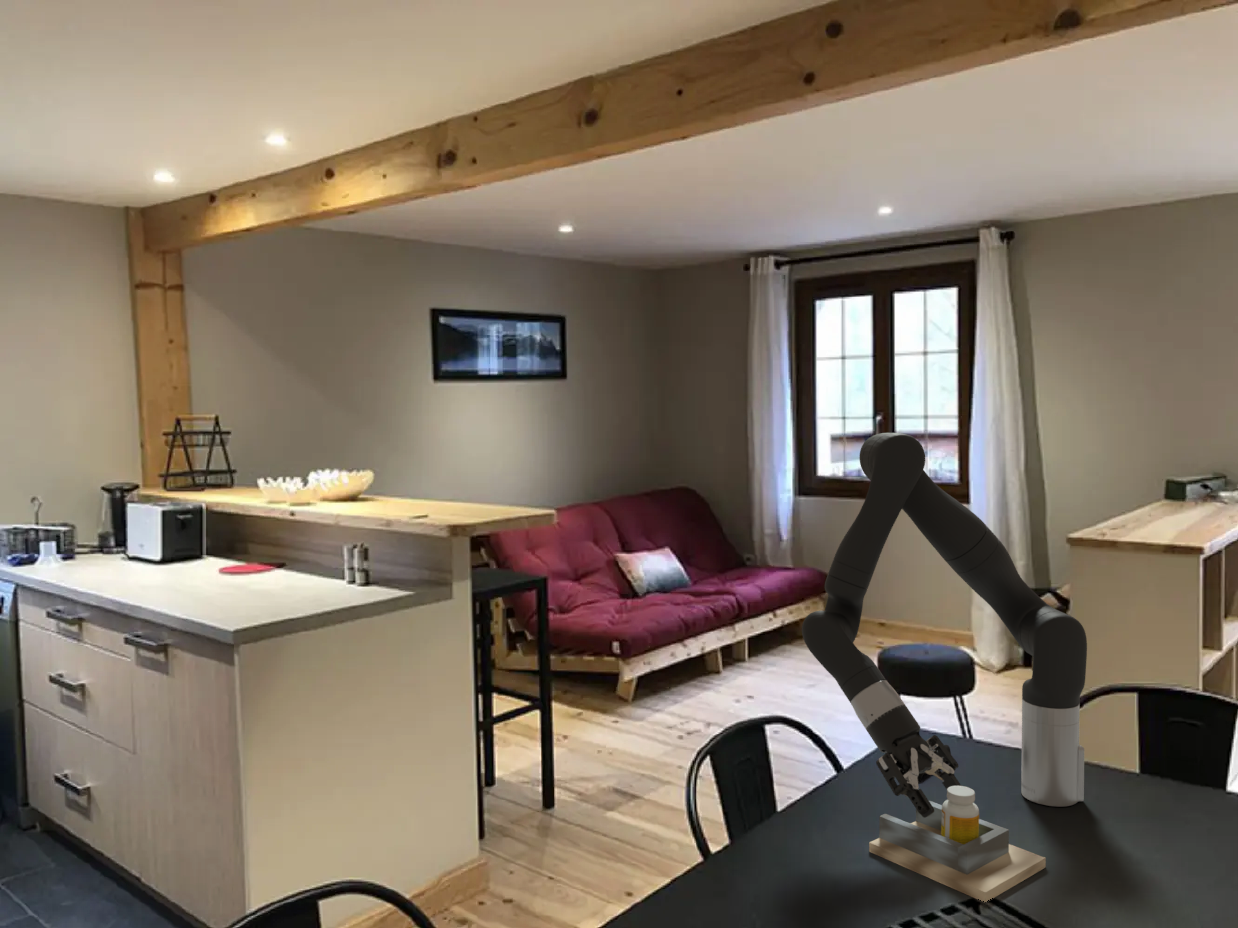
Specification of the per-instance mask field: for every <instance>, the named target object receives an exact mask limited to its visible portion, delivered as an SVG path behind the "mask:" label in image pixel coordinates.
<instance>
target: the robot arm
mask: <svg viewBox="0 0 1238 928" xmlns="http://www.w3.org/2000/svg"><path fill="white" fill-rule="evenodd" d="M859 464H860V467H861V470H862V472H863V474H864V476H866V477H867V479H868V480H869V481H870V482H869V486H868V487H869V488H868V490H867V493H866V496H865V500H864V501H863V504H862V506H861V508H860V510H859V512H858V514H857V516H856V517H855V519H854V520H853V522H852V524H851V526H850V527H849V528H848V530H847V531H846V532H845V535H844V536H843V538H842V540H841V542H840V544H839V545H838V548H837V550H836V552H835V553H834V554H835V555H834V557H833V560H832V563H831V565H830V567H829V569H828V574H827V576H826V579H825V582H824V591H825V592H826V593H827V595H828V596H827V599H826V605H825V609H824V610H815V611H812V612H811V613H809V614H808V615H807V616H806V617H805V619H804V620H803V622H802V626H801V634H802V639H803V641H804V644H805V645H806V647H807V649H808V651H809V652H810V653H811V655H813V657H814V659H816V661H817V662H819V664H820V665H821V666H822V667H823V668H824V670H825V671H826V672H827V673H829V674H830V675H831V676H832V677H833V679H834V680H835V681H836V683H837V684H838V686H839V688H840V689H841V691H842V693H843V694H844V696H845V697H846V699H847V700H848V701H849V703H850V705H851V707H852V708H853V710H854V712H855V714H856V716H857V718H858V720H859V721H860V723H861V724H862V726H863V727H864V729H865V730H866V731H867V733H868V735H869V736H870V738H871V739H872V742H873V743H874V744H875V745H876V747H877V749H878V750H879V752H880V753H883V755H882V756H880V757H879V758H877V760H876V763H875V764H876V766H877V768H878V769H879V771H880V774H882V775H883V778H884V779H885V781H886V783H887V784H888V786H889V788H890V789H891V792H892V793H893V794H894V795H895V797H898V796H900V795H904V796H905V797H906V798H908V800H910V802H911V803H912V805H913V806H914V809H915V810H916V809H917V811H918V812H919V813H920V814H921V815H922V817H924V818H926V817H928V816H929V815H931V814H932V813H933V812H934V808H933V806H932V805H931V803H930V802H929V801H930V800H929V799H928V798H927V796H926V795H925V793H924V792H923V790H922V789H921V788H920V789H919V782H918V779H917V777H918V775H919V774H922V773H924V772H926V774H927V775H930V776H931V775H933V776H934V777H935V778H937V779H939V780H941V781H942V782H941V784H942V785H943V786H944V788H945V789H946V790H947V788H948V787H951V786H962V784H961V783H960V782H959V780H958V779H957V777H956V775H955V771H956V769H957V768H958V767H959V763H958V762H957V761H956V759H955V758H954V756H953V755H952V753H951V754H950V752H949V751H948V750H947V748H946V747H945V746H944V745H945V744H944V743H943V742H942V740H941V739H940V738H939V737H938V735H936V734H933V735H932V736H931V737H929V738H928V739H926V740H925V739H924V738H923V737H922V736H921V734H920V732H921V725H920V724H919V722H918V721H917V720H916V718H915V717H914V716H913V714H912V713H911V711H910V710H909V708H908V707H907V705H906V703H904V701H903V699H902V698H901V696H900V694H899V693H897V691H896V690H895V689H894V687H893V686H892V685H891V684H890V683H889V682H888V680H887V679H886V678H885V676H884V675H883V673H882V672H881V670H880V669H879V668H878V666H877V665H876V663H875V662H874V660H872V658H871V657H869V655H867V654H865V653H863V651H861V650H860V649H859V648H858V647H857V646H856V645H855V644H854V642H855V640H856V638H857V636H858V632H859V629H860V624H861V619H862V613H863V605H864V599H865V596H866V594H867V591H868V588H869V586H870V583H871V580H872V578H873V576H874V573H875V570H876V567H877V565H878V562H879V559H880V557H881V554H882V552H883V550H884V546H885V544H886V543H887V541H888V538H889V535H890V533H891V532H892V529H893V527H894V525H895V522H896V521H897V519H898V517H899V515H900V513H901V511H902V510H903V512H904V513H905V514H906V515H907V517H909V518H910V520H911V521H912V523H914V525H915V526H916V528H918V530H919V531H920V533H921V534H922V535H923V537H925V539H926V540H927V541H928V543H929V544H930V545H931V546H932V547H933V548H934V549H935V551H936V552H937V553H938V554H939V555H940V557H942V558H941V559H943V560H944V562H946V563H947V565H948V566H949V567H950V568H951V569H952V570H953V571H954V572H955V573H956V574H957V575H958V577H960V578H961V580H963V581H964V582H965V584H967V585H968V586H969V587H970V588H971V589H972V590H973V591H974V592H975V593H976V594H977V595H978V596H979V597H980V598H981V599H983V601H985V602H986V603H987V604H988V605H989V606H990V607H991V608H992V610H993V611H994V612H995V613H996V614H997V616H998V617H999V619H1000V620H1001V621H1002V622H1003V624H1004V625H1005V627H1006V628H1007V630H1008V631H1009V632H1010V634H1011V635H1012V636H1013V638H1014V639H1015V641H1016V642H1017V644H1018V645H1019V647H1021V648H1022V649H1023V650H1024V651H1025V652H1026V653H1027V654H1029V655H1030V656H1032V657H1033V658H1032V659H1033V660H1032V674H1031V678H1029V679H1025V681H1024V682H1023V683H1022V688H1021V689H1022V690H1021V763H1020V765H1021V770H1020V774H1021V778H1020V780H1021V781H1020V785H1021V790H1020V791H1021V793H1020V794H1021V795H1022V796H1023V798H1025V799H1027V800H1029V801H1030V802H1033V803H1036V804H1039V805H1043V806H1049V807H1070V806H1073V805H1076V804H1077V803H1078V802H1084V800H1085V799H1084V798H1085V797H1084V794H1085V789H1084V788H1085V748H1084V747H1083V745H1081V744H1080V707H1081V706H1080V705H1081V704H1080V701H1081V700H1080V699H1081V694H1082V692H1083V690H1084V688H1085V685H1086V684H1085V683H1086V677H1087V675H1086V674H1087V673H1086V672H1087V659H1088V658H1087V657H1088V642H1087V635H1086V634H1087V633H1086V630H1085V628H1084V627H1083V625H1082V623H1081V622H1080V621H1079V620H1078V619H1076V618H1075V617H1073V616H1071V615H1069V614H1067V613H1065V612H1063V611H1060V610H1058V609H1056V608H1054V607H1052V606H1051V605H1050V604H1049V603H1047V602H1045V600H1044V599H1043V598H1041V597H1040V596H1039V595H1038V594H1037V593H1036V592H1035V591H1034V590H1033V589H1031V587H1030V586H1029V585H1028V584H1027V583H1026V582H1025V581H1024V579H1022V577H1021V575H1020V574H1019V572H1018V570H1017V568H1016V566H1015V564H1014V561H1013V559H1012V557H1011V555H1010V553H1009V552H1008V550H1007V548H1006V547H1005V546H1004V544H1003V543H1002V542H1001V540H1000V539H999V538H998V537H997V536H996V534H995V533H994V532H993V531H992V530H991V529H990V528H989V527H988V526H987V524H985V522H984V521H983V520H982V519H981V518H980V517H979V516H978V515H977V514H975V513H974V512H973V511H971V510H970V509H969V508H968V507H966V505H964V504H962V503H961V502H960V500H957V499H956V498H955V497H953V496H951V495H950V494H948V493H947V492H946V491H944V490H943V488H941V487H940V486H938V484H936V483H935V482H934V480H933V479H932V478H931V477H930V476H929V475H928V474H927V472H926V471H925V470H924V469H925V466H926V452H925V449H924V447H923V445H922V444H921V442H920V441H919V440H918V439H917V438H915V436H912V435H910V434H906V433H900V432H882V433H881V432H880V433H877V434H874V435H871V436H870V437H868V438H867V439H866V440H865V441H864V442H863V444H862V445H861V447H860V451H859ZM943 757H945V758H946V760H947V761H946V762H948V764H947V763H946V762H944V760H943ZM932 761H934V762H933V763H932ZM895 779H896V780H895ZM897 783H898V784H897Z"/></svg>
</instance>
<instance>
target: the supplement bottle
mask: <svg viewBox="0 0 1238 928" xmlns="http://www.w3.org/2000/svg"><path fill="white" fill-rule="evenodd" d="M946 798H947V799H945V800H944V802H943V803H942V804H941V805H942V822H941V836H943V837H946V838H948V839H951V840H953V841H956V842H958V843H961V844H966V843H968V842H970V841H972V840H974V839H976V838H978V837H979V819H980V809H979V807H978V805H977V804H976V803H975V801H976V792H975V790H974V789H972V788H970V787H969V786H964V785H961V786H951V787H948V788H947V789H946Z"/></svg>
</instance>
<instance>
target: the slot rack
mask: <svg viewBox="0 0 1238 928" xmlns="http://www.w3.org/2000/svg"><path fill="white" fill-rule="evenodd" d="M929 802H930V803H931V805H932V806H933V808H934V812H933V813H932V814H931V815H929V816H928V817H926V818H924V817H922V815H921V814H920V813H919V812H918V811H917V809H916V808H915V821H913V822H908V821H906V820H905V821H904V820H902V819H900V818H898V817H896V816H892V815H891V814H887V813H884V814H881V815H880V816H879V821H878V822H879V827H878V828H879V829H878V830H879V835H878V836H879V837H878V838H876V839H874V840H871V841H869V843H868V845H869V847H868V848H869V853H871V854H874V855H875V856H879V857H880V858H883V859H885V860H887V861H890V862H892V863H894V864H897V865H898V866H901V867H903V868H905V869H908V870H910V871H912V872H915V873H917V874H919V875H921V876H924V877H926V878H929V879H931V880H933V881H934V882H937V883H940V884H941V885H944V886H947V887H949V888H951V889H953V890H955V891H958V892H959V893H962V894H964V895H967V896H969V897H971V898H972V899H973V898H974V899H976V900H978V899H979V900H978V901H980V900H981V902H983V901H984V902H983V903H985V902H986V903H987V901H988V900H989V901H991V900H993V899H995V898H996V897H998V896H999V895H1001V894H1003V893H1004V892H1007V891H1008V890H1009V889H1012V888H1014V887H1015V886H1017V885H1018V884H1020V883H1021V882H1023V881H1024V880H1027V879H1028V878H1030V877H1032V876H1033V875H1035V874H1037V873H1039V872H1040V871H1042V870H1043V869H1045V868H1046V864H1047V863H1046V861H1047V860H1046V857H1045V856H1041V855H1039V854H1036V853H1034V852H1031V851H1028V850H1026V849H1023V848H1021V847H1018V846H1015V845H1013V844H1010V843H1009V842H1010V830H1009V829H1008V828H1005V827H1002V826H1001V825H1000V826H999V825H997V824H994V823H991V822H989V821H986V820H983V819H981V818H979V837H978V838H976V839H974V840H972V841H970V842H968V843H966V844H961V843H958V842H956V841H953V840H951V839H948V838H946V837H943V836H941V822H942V804H939V803H937V802H934V801H932V800H929ZM992 898H993V899H992ZM990 899H991V900H990ZM989 901H988V902H989Z"/></svg>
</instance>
